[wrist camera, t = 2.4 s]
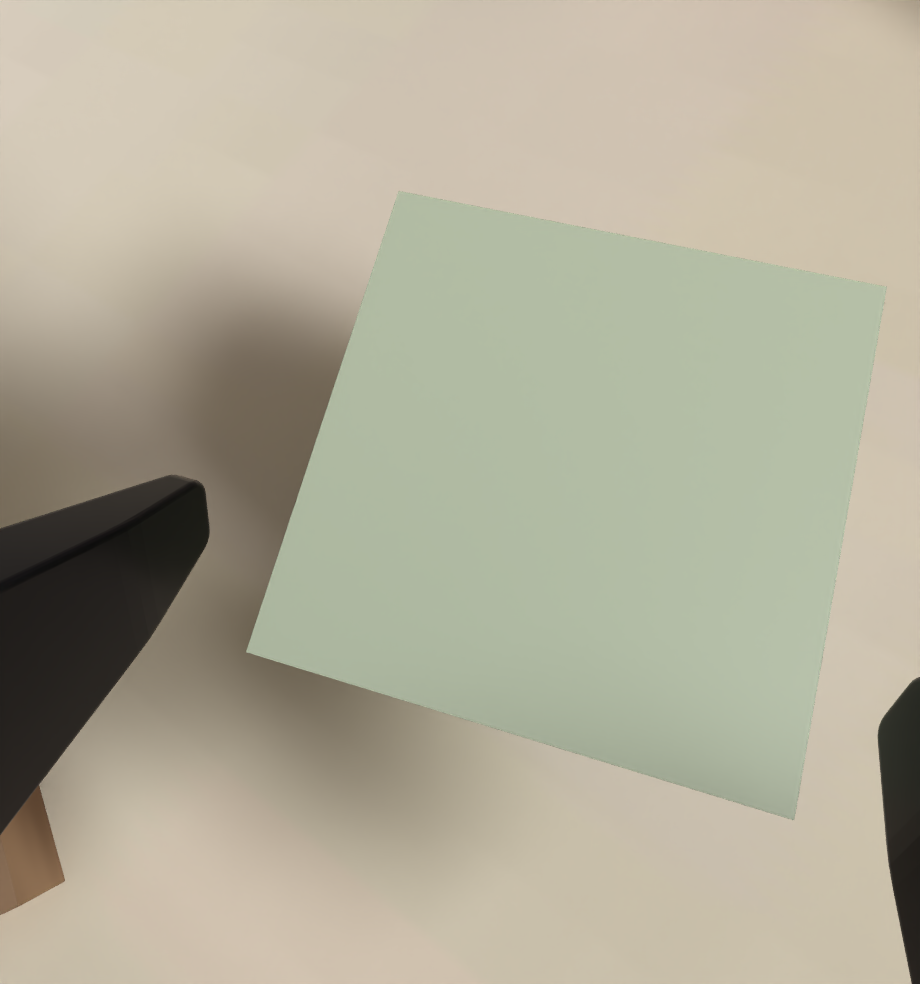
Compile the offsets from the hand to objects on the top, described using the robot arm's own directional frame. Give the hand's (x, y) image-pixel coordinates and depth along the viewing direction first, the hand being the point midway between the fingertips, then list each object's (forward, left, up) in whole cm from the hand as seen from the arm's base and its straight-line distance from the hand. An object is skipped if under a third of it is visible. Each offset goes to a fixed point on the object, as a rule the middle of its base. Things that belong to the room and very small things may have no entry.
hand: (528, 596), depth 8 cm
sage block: (+1, 0, -9) cm, 9 cm away
